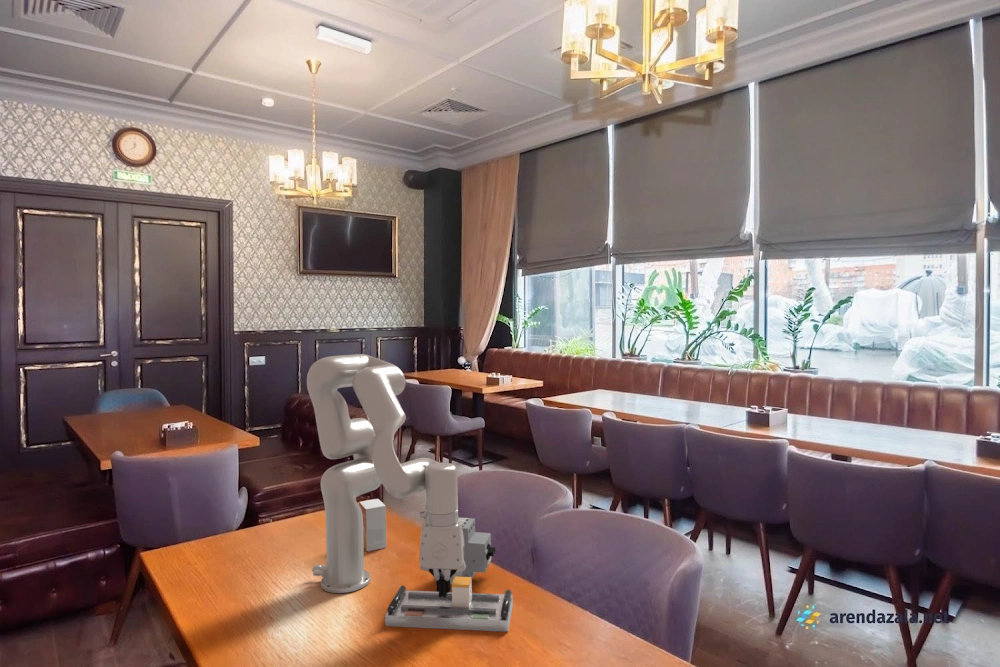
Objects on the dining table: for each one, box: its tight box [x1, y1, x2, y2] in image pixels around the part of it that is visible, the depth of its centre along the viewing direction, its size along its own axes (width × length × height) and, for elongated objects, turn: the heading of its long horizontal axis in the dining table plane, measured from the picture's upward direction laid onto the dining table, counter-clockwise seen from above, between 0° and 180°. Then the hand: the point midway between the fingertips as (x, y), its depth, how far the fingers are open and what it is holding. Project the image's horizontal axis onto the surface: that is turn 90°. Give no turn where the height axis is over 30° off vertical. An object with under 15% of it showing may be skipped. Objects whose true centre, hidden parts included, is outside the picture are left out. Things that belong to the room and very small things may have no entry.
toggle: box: [451, 577, 473, 608], centre depth 135 cm, size 4×4×6 cm
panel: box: [384, 585, 514, 633], centre depth 136 cm, size 28×12×4 cm, turn 84°
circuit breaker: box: [441, 517, 496, 585], centre depth 154 cm, size 8×14×15 cm, turn 78°
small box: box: [358, 498, 387, 552], centre depth 178 cm, size 8×6×13 cm
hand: (443, 594), depth 136 cm, fingers closed
